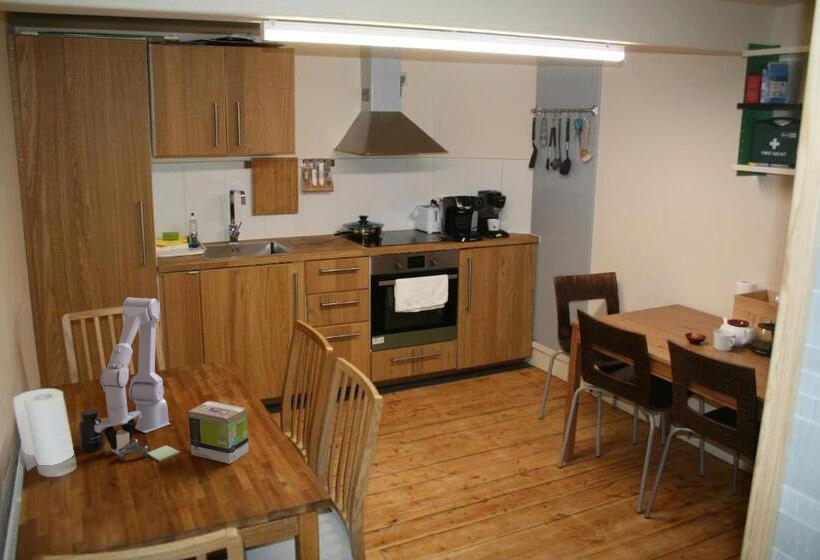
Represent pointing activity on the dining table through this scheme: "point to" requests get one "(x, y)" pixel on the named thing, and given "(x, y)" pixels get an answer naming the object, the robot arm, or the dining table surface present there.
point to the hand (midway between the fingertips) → (120, 446)
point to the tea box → (218, 431)
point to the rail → (133, 449)
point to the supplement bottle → (90, 431)
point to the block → (121, 440)
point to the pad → (163, 453)
